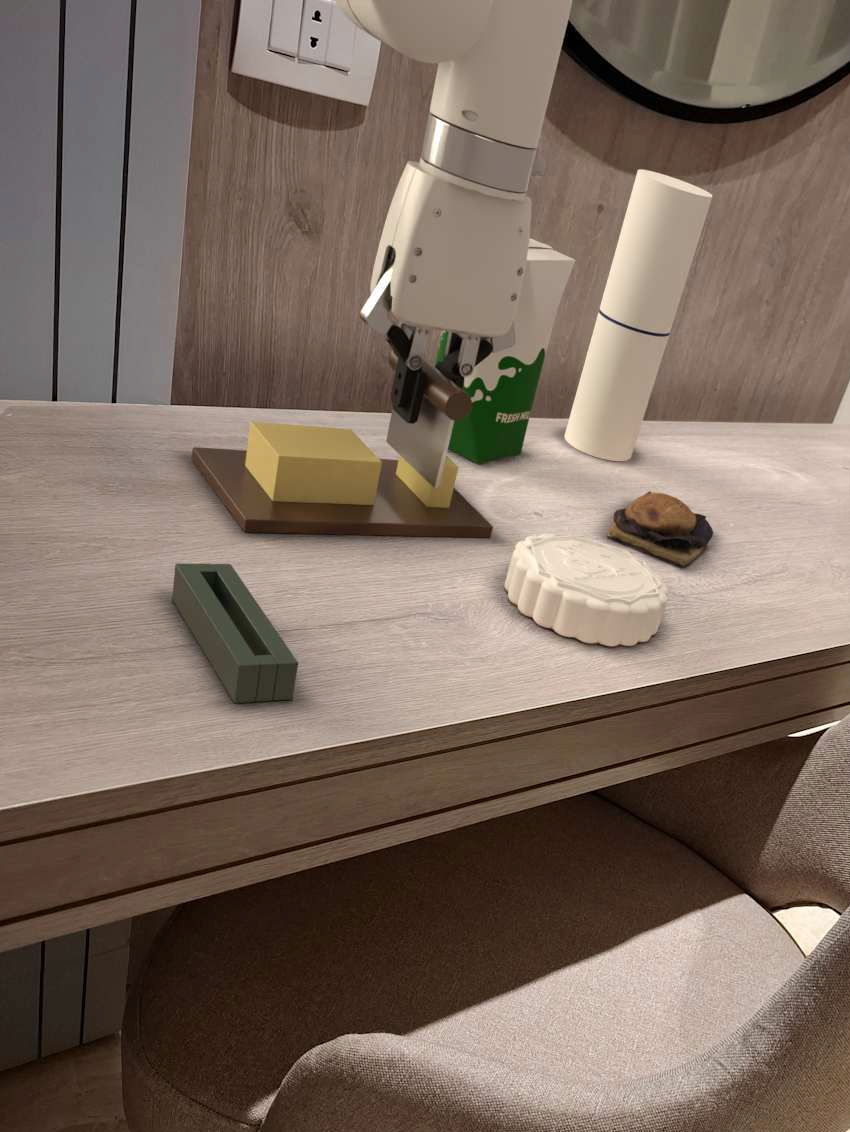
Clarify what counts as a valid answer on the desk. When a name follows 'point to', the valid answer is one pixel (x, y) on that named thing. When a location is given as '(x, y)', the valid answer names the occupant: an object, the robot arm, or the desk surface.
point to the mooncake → (586, 589)
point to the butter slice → (424, 488)
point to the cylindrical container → (636, 314)
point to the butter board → (335, 505)
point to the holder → (234, 633)
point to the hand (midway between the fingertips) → (421, 416)
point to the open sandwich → (662, 527)
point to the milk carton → (512, 364)
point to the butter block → (312, 464)
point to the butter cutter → (429, 424)
